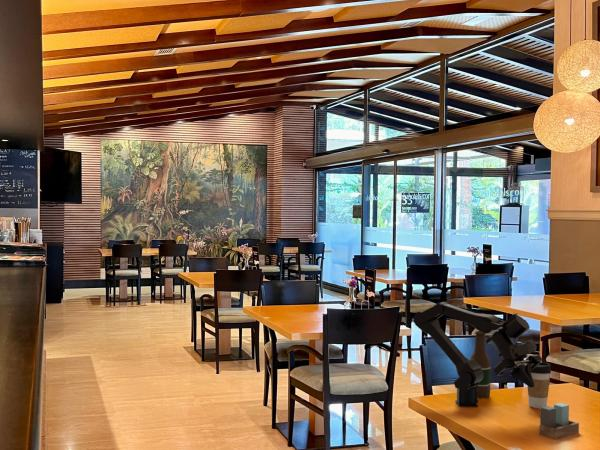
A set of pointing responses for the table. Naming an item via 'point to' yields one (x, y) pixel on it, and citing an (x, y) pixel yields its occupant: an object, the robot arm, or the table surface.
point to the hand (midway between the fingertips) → (532, 387)
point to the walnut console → (559, 430)
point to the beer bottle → (482, 365)
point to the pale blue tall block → (562, 413)
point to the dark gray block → (548, 416)
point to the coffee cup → (539, 385)
